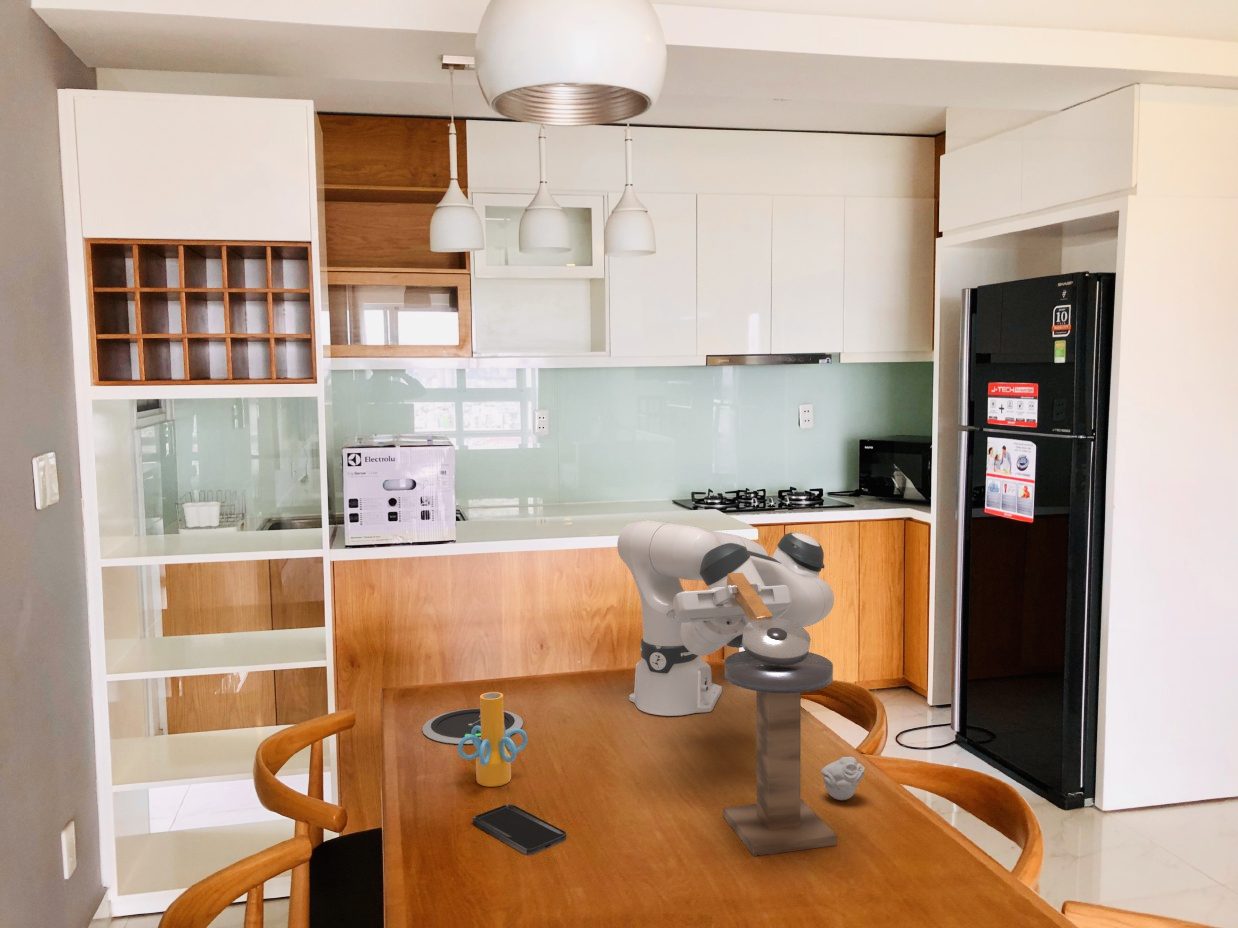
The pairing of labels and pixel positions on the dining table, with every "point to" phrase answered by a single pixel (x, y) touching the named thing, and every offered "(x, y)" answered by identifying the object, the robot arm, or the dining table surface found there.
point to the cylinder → (492, 743)
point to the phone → (519, 829)
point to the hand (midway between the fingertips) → (745, 588)
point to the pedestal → (778, 756)
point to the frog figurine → (842, 777)
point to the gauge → (462, 726)
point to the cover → (768, 629)
